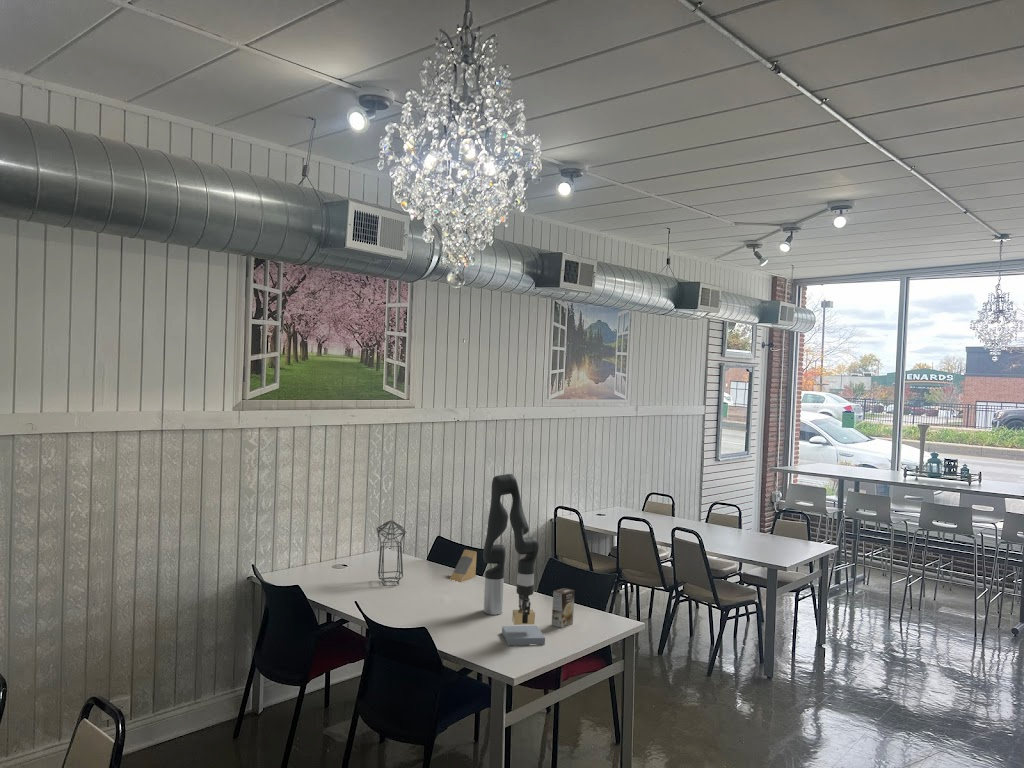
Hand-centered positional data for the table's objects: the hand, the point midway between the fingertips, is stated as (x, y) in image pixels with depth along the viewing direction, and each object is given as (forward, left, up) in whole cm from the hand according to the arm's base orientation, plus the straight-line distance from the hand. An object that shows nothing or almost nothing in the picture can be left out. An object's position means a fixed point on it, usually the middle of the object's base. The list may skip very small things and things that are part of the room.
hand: (523, 620), depth 328 cm
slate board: (0, 0, -8) cm, 8 cm away
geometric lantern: (-91, -56, -8) cm, 107 cm away
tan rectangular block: (0, 0, -1) cm, 1 cm away
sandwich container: (-101, -14, -8) cm, 102 cm away
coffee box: (-18, +23, -8) cm, 30 cm away
